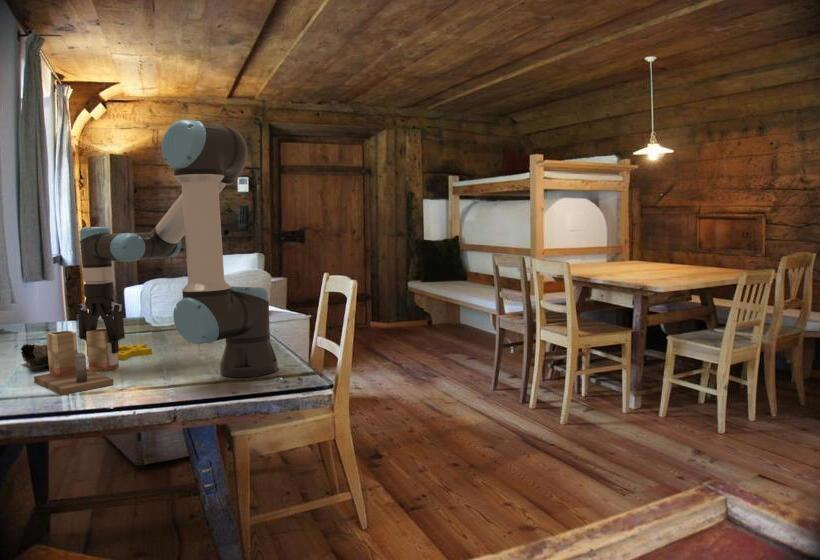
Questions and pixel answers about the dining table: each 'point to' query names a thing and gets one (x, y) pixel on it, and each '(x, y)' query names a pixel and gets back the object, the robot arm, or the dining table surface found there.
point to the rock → (35, 354)
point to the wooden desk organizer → (68, 366)
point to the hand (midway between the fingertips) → (103, 364)
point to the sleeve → (98, 350)
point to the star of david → (132, 351)
